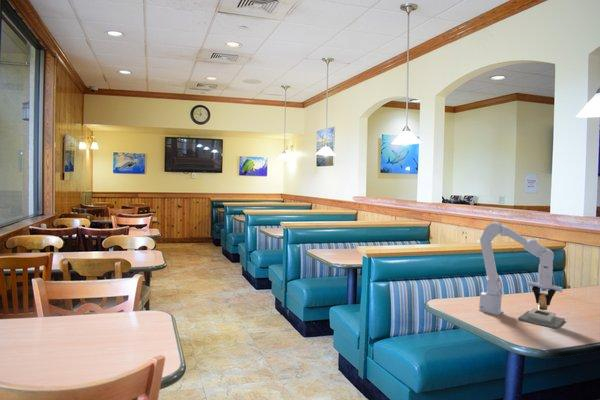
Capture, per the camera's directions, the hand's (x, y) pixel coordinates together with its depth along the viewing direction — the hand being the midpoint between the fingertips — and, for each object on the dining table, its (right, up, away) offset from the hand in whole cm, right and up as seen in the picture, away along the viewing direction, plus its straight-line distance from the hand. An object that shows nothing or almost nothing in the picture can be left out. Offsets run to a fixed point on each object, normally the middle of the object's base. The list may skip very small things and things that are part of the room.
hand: (542, 303), depth 213 cm
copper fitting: (0, -2, 0) cm, 2 cm away
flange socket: (0, -8, +1) cm, 8 cm away
